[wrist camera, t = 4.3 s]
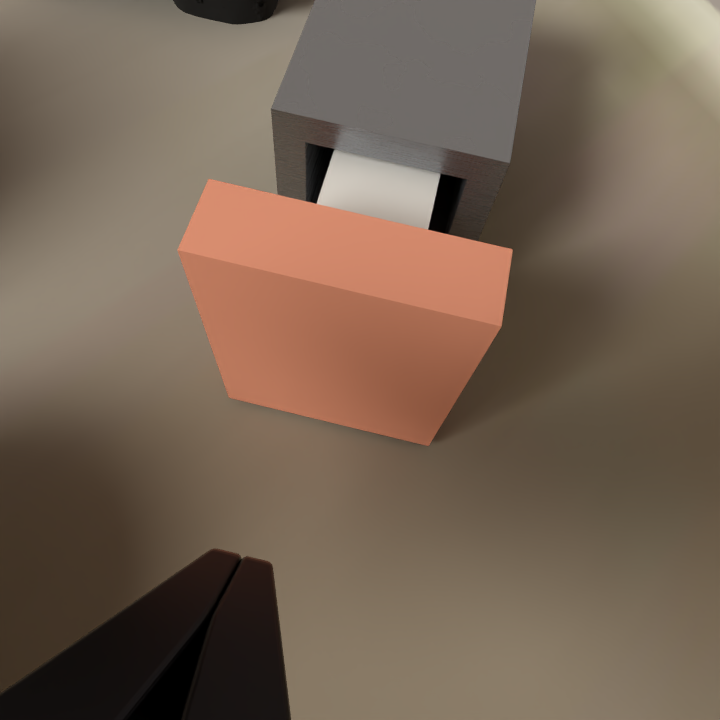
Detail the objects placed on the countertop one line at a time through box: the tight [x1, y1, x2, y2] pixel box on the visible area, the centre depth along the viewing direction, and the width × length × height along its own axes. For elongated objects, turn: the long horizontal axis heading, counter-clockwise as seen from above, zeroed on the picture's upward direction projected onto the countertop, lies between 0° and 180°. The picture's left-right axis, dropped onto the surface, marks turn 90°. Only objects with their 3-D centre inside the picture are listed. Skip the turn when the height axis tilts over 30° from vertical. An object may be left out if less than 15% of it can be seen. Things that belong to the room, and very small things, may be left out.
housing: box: [271, 0, 536, 241], centre depth 22 cm, size 10×7×7 cm
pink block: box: [178, 149, 513, 446], centre depth 19 cm, size 10×7×9 cm, turn 167°
